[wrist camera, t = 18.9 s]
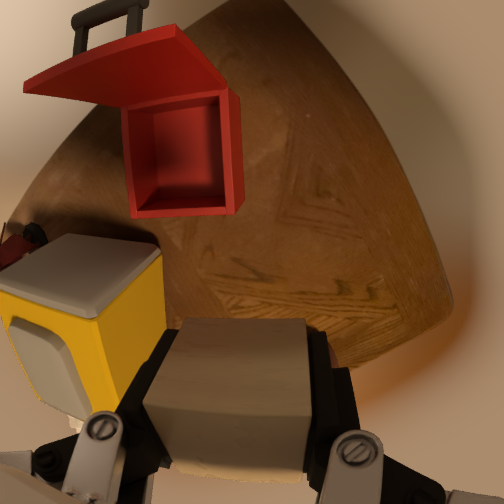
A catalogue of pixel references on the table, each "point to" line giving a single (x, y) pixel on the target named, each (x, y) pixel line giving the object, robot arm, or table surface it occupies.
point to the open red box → (184, 155)
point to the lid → (127, 62)
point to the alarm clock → (84, 318)
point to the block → (235, 399)
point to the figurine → (21, 245)
